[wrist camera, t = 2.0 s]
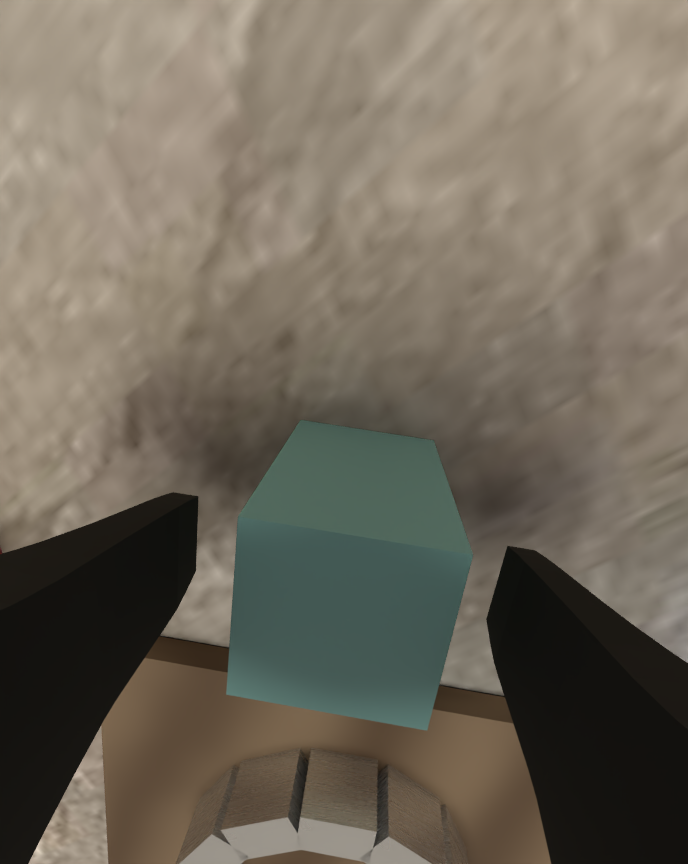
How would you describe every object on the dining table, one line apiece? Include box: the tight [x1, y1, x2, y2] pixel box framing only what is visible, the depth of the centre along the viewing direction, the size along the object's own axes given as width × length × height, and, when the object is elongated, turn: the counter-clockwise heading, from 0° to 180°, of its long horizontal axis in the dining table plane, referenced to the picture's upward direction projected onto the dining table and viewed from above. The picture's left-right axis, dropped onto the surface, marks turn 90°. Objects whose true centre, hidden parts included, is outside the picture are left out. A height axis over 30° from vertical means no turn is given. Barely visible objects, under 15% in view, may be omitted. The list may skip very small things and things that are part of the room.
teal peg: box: [226, 420, 473, 731], centre depth 11 cm, size 4×4×6 cm
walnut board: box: [101, 636, 551, 864], centre depth 18 cm, size 18×16×1 cm
